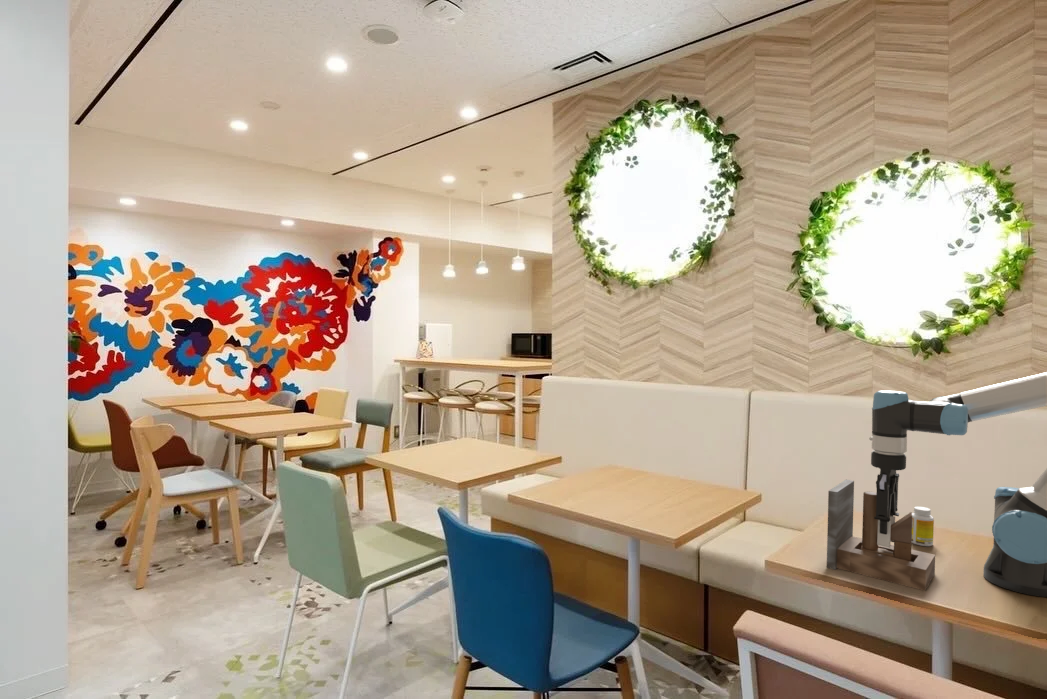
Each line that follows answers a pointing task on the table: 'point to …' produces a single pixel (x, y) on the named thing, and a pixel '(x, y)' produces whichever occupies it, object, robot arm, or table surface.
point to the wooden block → (899, 531)
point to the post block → (851, 558)
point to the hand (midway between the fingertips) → (885, 543)
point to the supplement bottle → (922, 526)
